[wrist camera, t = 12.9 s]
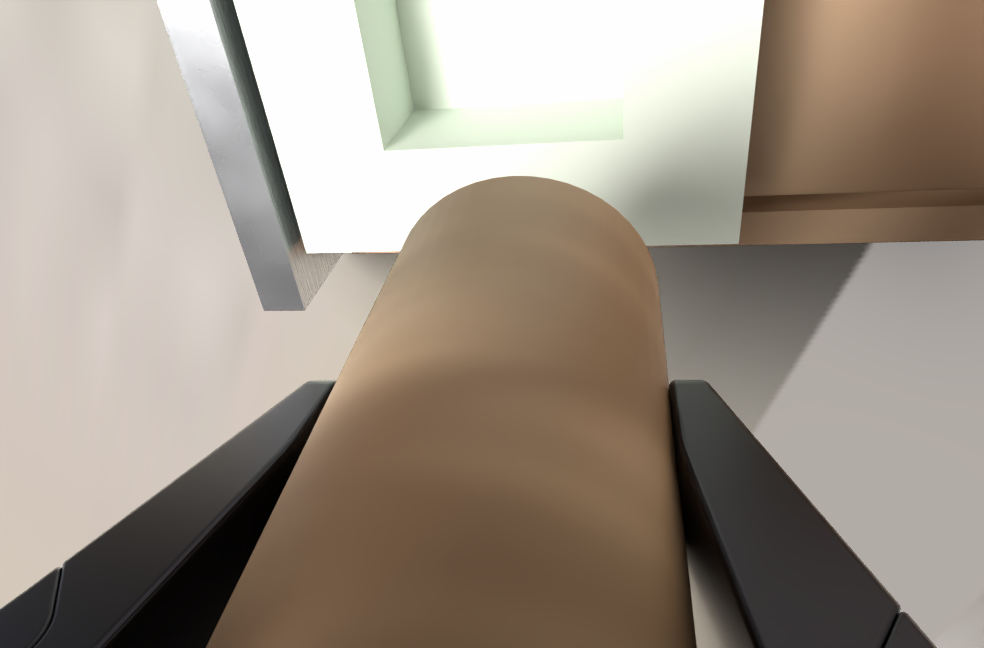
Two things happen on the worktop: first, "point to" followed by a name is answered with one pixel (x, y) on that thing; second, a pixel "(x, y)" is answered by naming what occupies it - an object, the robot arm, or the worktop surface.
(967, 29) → the rail base
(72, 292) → the worktop surface
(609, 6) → the socket block
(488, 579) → the dowel
